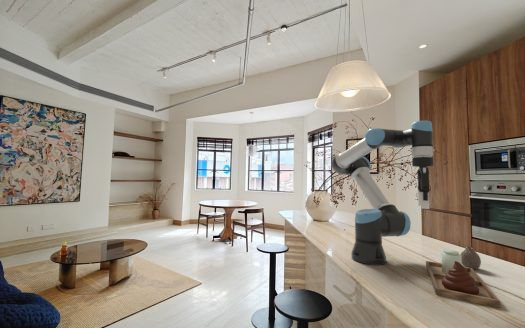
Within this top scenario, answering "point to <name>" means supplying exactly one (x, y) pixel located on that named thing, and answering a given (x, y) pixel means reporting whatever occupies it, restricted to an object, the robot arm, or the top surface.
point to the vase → (470, 258)
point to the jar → (449, 259)
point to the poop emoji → (460, 280)
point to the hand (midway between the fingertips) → (423, 207)
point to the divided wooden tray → (482, 297)
